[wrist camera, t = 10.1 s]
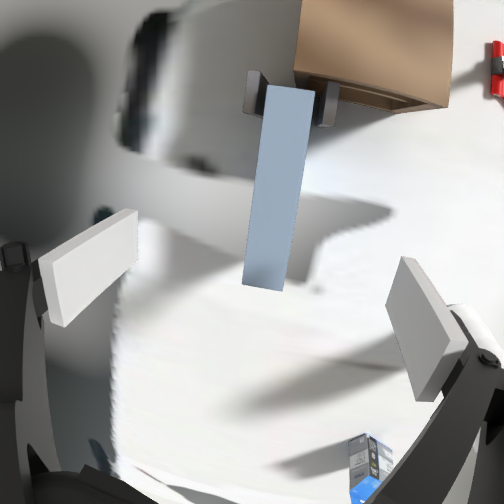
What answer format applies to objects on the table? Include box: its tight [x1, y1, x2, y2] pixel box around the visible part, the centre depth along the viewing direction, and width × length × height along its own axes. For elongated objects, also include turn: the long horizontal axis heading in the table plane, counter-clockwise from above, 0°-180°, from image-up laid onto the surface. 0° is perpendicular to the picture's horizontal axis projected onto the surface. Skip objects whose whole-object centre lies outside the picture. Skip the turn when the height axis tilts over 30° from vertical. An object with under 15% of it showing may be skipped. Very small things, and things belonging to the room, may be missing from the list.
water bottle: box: [448, 304, 504, 453], centre depth 22 cm, size 7×7×25 cm
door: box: [242, 85, 315, 291], centre depth 26 cm, size 14×3×11 cm, turn 173°
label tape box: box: [349, 434, 394, 504], centre depth 38 cm, size 9×4×12 cm, turn 47°
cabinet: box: [243, 0, 453, 128], centre depth 20 cm, size 17×13×12 cm
